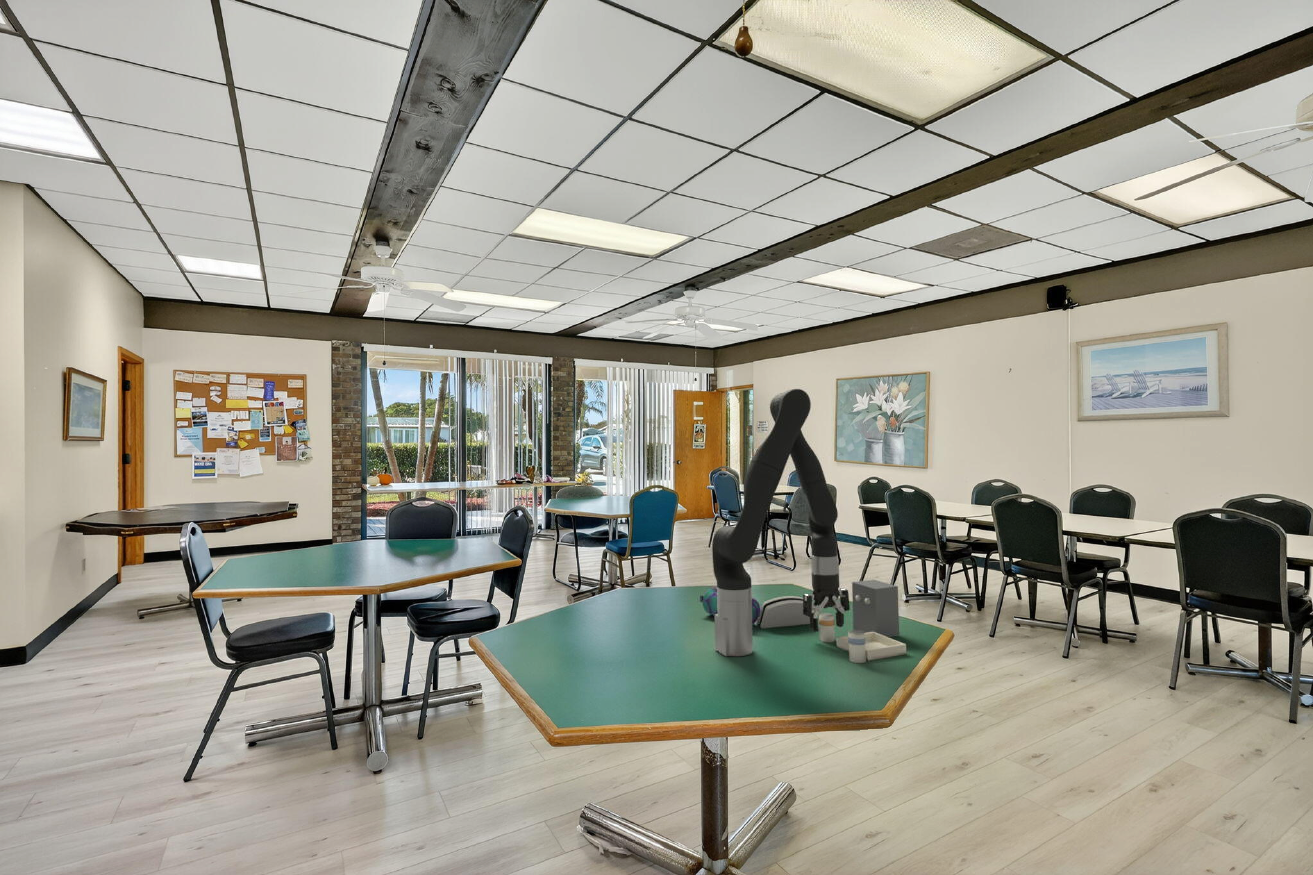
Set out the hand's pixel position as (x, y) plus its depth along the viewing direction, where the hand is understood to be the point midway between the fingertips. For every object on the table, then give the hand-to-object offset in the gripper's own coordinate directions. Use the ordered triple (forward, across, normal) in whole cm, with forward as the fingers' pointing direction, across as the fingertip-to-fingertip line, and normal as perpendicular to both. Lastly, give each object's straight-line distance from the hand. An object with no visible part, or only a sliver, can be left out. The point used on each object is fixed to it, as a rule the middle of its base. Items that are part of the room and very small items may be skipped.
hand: (827, 628), depth 173 cm
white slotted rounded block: (+3, +2, -17) cm, 18 cm away
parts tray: (+3, -4, +13) cm, 14 cm away
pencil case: (+3, +15, -29) cm, 33 cm away
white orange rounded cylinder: (+3, 0, 0) cm, 3 cm away
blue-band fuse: (+3, +4, +17) cm, 18 cm away
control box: (+3, -16, +1) cm, 17 cm away
